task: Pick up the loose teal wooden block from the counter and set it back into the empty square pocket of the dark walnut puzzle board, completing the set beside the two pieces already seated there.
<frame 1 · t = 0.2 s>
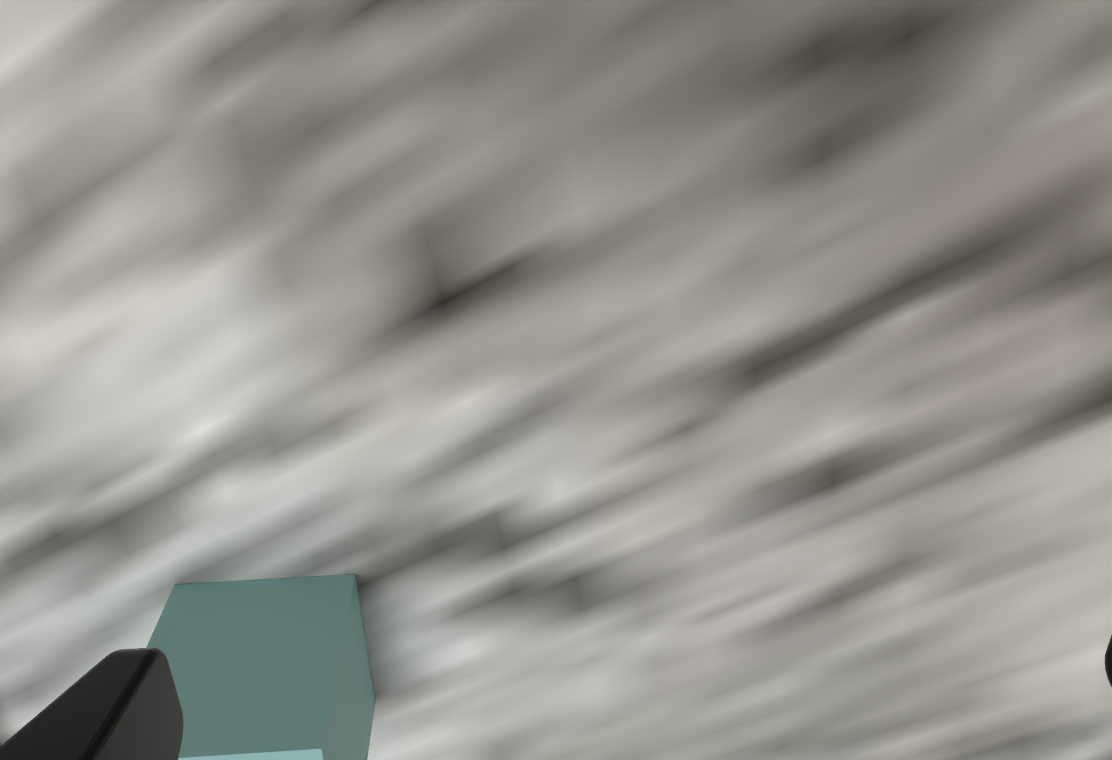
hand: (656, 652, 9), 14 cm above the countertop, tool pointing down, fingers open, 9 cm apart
teal block: (280, 644, 27), on the countertop
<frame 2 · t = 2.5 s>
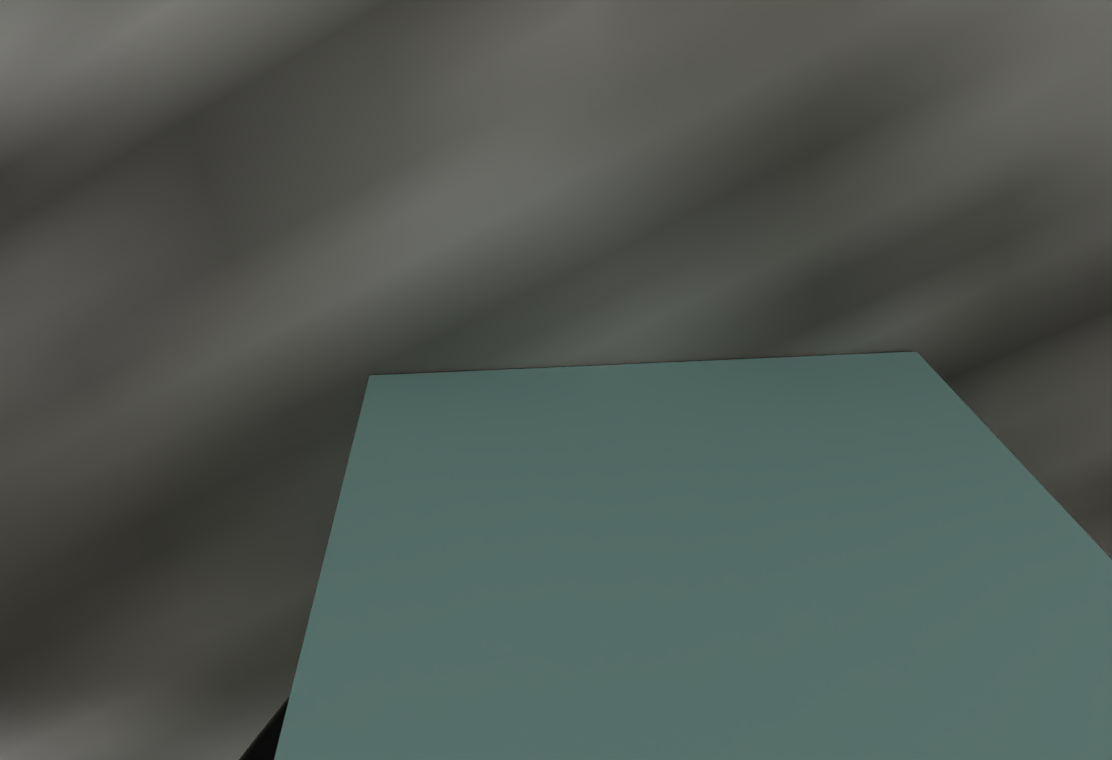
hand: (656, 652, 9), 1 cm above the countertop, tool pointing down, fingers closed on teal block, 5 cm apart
teal block: (639, 578, 10), on the countertop, touching gripper
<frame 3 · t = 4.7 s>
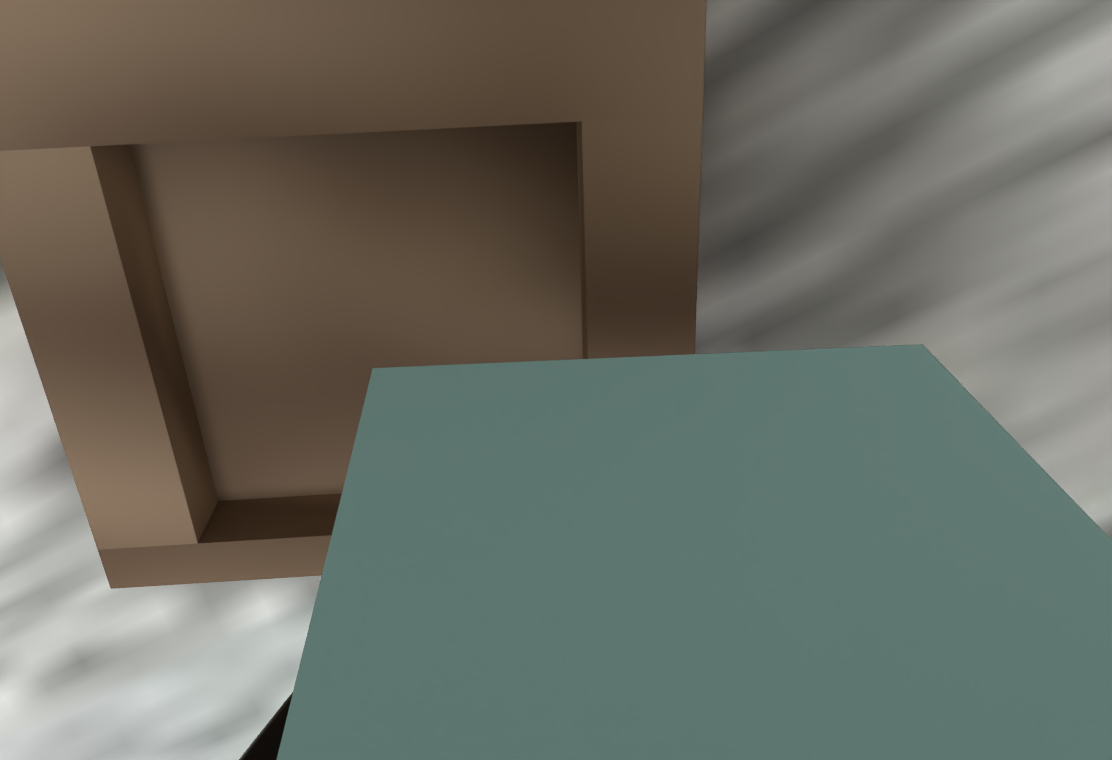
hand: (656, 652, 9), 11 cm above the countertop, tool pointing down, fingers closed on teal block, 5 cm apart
puzzle board: (359, 104, 17), on the countertop
teal block: (643, 573, 9), point 10 cm above the countertop, touching gripper
when the fingers open (3 cm above the countertop, at t = 6.8 s): teal block drops 1 cm, resting on puzzle board.
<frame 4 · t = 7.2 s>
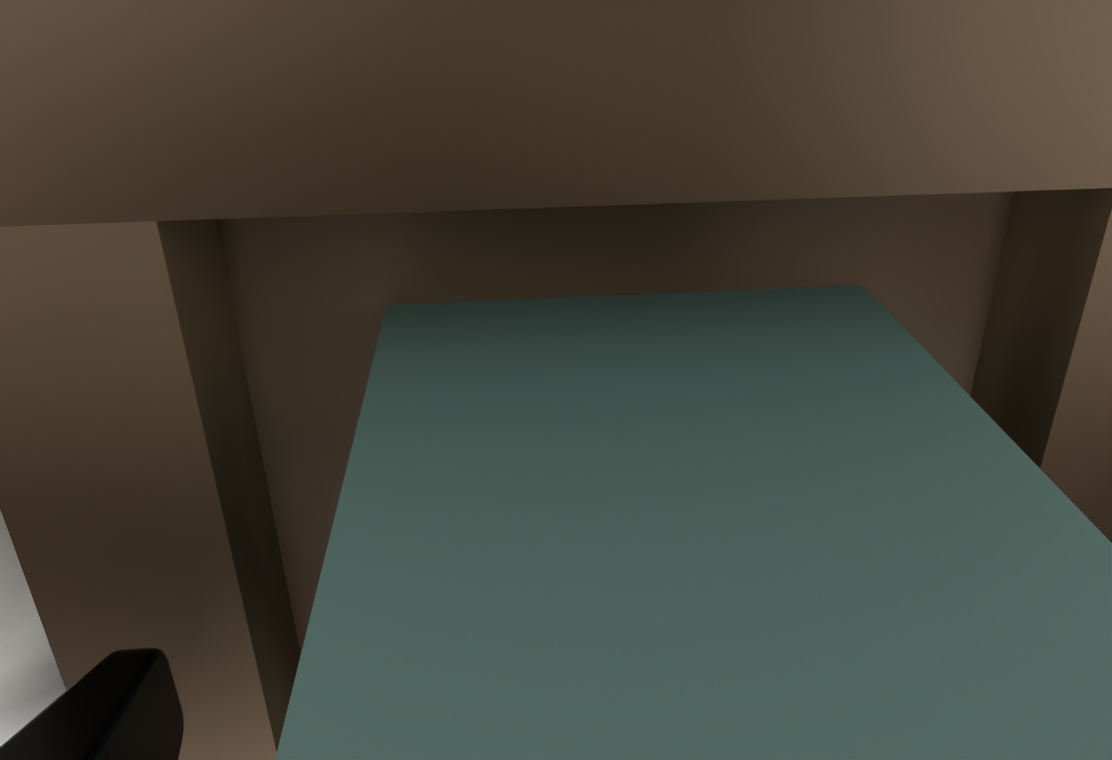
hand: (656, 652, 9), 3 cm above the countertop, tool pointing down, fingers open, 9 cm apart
puzzle board: (613, 134, 10), on the countertop
teal block: (623, 492, 11), point 1 cm above the countertop, touching puzzle board
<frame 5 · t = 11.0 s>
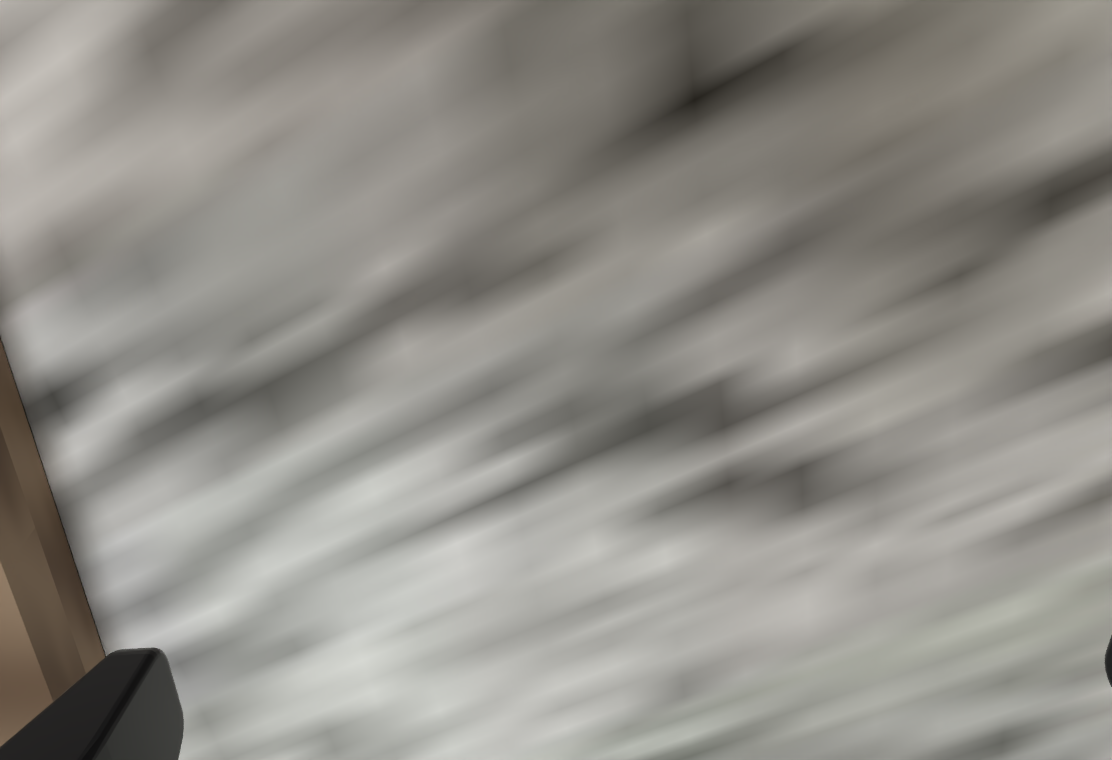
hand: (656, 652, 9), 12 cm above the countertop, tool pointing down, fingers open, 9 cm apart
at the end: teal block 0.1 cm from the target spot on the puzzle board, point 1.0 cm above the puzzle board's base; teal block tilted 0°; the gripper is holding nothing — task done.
